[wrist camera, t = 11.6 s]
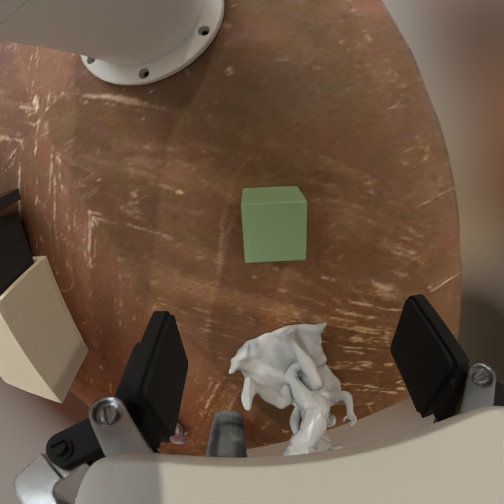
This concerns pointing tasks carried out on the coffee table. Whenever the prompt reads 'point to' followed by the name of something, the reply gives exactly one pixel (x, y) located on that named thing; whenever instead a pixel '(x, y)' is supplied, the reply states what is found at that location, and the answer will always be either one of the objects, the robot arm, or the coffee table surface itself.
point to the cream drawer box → (39, 335)
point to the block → (274, 224)
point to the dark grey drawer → (12, 244)
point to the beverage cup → (227, 435)
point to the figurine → (294, 383)
